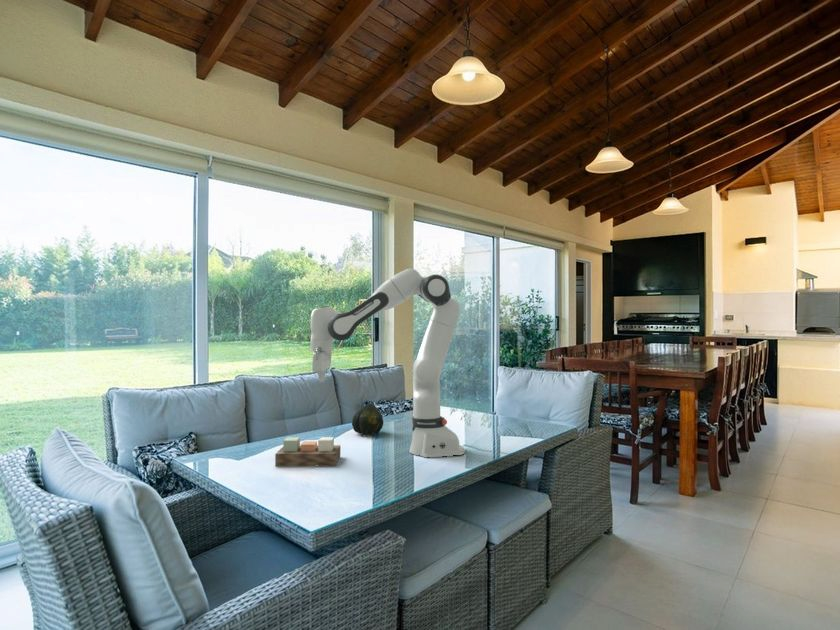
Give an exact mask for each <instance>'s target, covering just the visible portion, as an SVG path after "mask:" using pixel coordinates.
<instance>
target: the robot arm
mask: <svg viewBox="0 0 840 630" xmlns="http://www.w3.org/2000/svg"><path fill="white" fill-rule="evenodd" d="M449 285H450V284H449V282H448V281H447V279H446V278H445V276H442V275H440V274H430V275H428V276H427V277H424V276H422V275H421V274H420V273H419V271H417V270H416V269H414V268H412V267H411V268H407V269H404V270H402V271H400V272H398V273H395V274H394V275H392V276H391V277H390V278H388V279H387V280H385V281H384V282H383V283H382V284H380V285H379V286H378V287H377V289H376V290H375V291H374V292H373V293H372V294H371V295H370V296H369V297H368V298H367V299H365V300H364V301H363V302H361V303H360V304H359V305H357V306H356V307H353V308H352V309H351V310H349V311H347V312H340V311H338V310H336V309H334V308H333V307H331V306H329V305H325V306H319V307H315V308H314V309H313V310H312V311H311V315H310V331H311V332H310V333H311V337H310V352H311V353H313V354H312V364H311V365H312V366H311V367H312V369H311V370H312V372H313V373H317V375H318V382H319V383H323V382H325V381H326V378H325V377H326V370H328V369H330V368H331V364H332V354H333V351H334V340H335V341H346V340H347V339H349V338H351V337H352V336H353V335H354V334H355V332H356V330H357V327H359V325H361V324H362V323H364V322H365V321H366V320H368V319H370V318H371V317H373V316H374V315H376V314H378V313H379V312H383V311H387V310H391V309H393V308H396V307H398V306H400V305H401V304H403V303H404V302H405V301H407V300H409V299H410V298H411V297H413V296H416V295H417V296H419V297H420V298H421V299H422V300H424V301H425V302H427V303H432V304H431V305H432V307H433V308H432V313H431V316H430V318H429V322H428V323H427V324H428V325H427V326H426V330H425V332H424V335H423V338H422V341H421V345H420V348H419V351H418V354H417V356H416V359H415V360H414V362H413V366H412V377H413V378H412V383H413V384H412V385H413V386H412V394H413V395H412V396H413V397H412V400H413V402H412V405H413V406H412V408H413V409H412V413H413V414H412V415H413V416H412V419H411V431H412V436H411V443H410V447H409V450H408V451H409V453H410V454H412V455H415V456H419V455H420V457H424V458H425V459H428V458H427V457H430V458H443V457H442V456H447V457H454V456H453V455H462V454H464V453H465V454H466V449H465V447H464V446H462V445H460V440H459V437H458V435H457V434H456V433H455V432H453V430H451V429H450V427H447V426H446V425H447V424H448V421H447V419H446V418H445V417H444V416H441V386H440V385H441V383H440V382H441V381H440V377H441V373H442V372H443V367H444V365H445V362H446V358H447V355H448V351H449V348H450V346H451V345H450V344H451V342H452V340H453V337H454V334H455V331H456V329H457V325H458V322H459V317H460V312H461V306H460V303H459V302H458V301H457V300H456V299H454V298H452V297H451V296H452V295H451V291H450V290H451V289H450V286H449ZM465 454H464V455H465ZM462 456H463V455H462Z"/></svg>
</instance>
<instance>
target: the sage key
mask: <svg viewBox="0 0 840 630" xmlns="http://www.w3.org/2000/svg"><path fill="white" fill-rule="evenodd" d="M282 441H283V443H282V444H283V445H282V447H283V452H293V451H298V450H299V449H300V446H301V437H293V436H289V437H286V438H285V439H283V440H282Z"/></svg>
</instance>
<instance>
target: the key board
mask: <svg viewBox="0 0 840 630" xmlns="http://www.w3.org/2000/svg"><path fill="white" fill-rule="evenodd" d="M274 456H275V459H274V462H275V464H274V465H275V467H335V466H337V464H338V462H339V460H340V459H339V458H341V445H340V444H337V445H336V444H334V449H333V451H318V444H317V449H316V451H301V445H300V449H299V450H298V451H293V452H283V446H282V447H281V448H280V449H279V450H278V451H276V453H275V454H274ZM316 465H318V466H316Z"/></svg>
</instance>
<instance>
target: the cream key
mask: <svg viewBox="0 0 840 630" xmlns="http://www.w3.org/2000/svg"><path fill="white" fill-rule="evenodd" d="M317 445H318V451H333V449H334V445H335V437H334V436H333V437H332V436H331V437H330V436H329V437H327V436H325V437H324V436H322V437H320V438H318V440H317Z"/></svg>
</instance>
